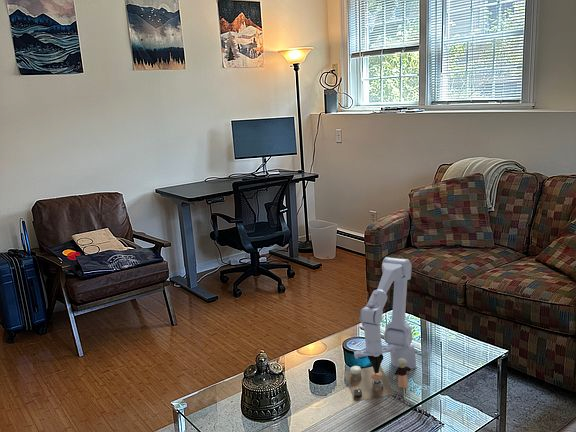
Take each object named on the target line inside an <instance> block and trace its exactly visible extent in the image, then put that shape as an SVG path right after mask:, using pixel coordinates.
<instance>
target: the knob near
mask: <svg viewBox="0 0 576 432" xmlns="http://www.w3.org/2000/svg"><path fill="white" fill-rule="evenodd" d="M371 378H372V379H374V380H375V383H377V384H378V383H379V380H380V379H382V373H381V372H380V371H379V373H376V374H375V372H372V373H371Z"/></svg>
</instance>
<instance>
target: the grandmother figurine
mask: <svg viewBox="0 0 576 432" xmlns="http://www.w3.org/2000/svg"><path fill="white" fill-rule="evenodd" d="M397 363H398V365H399V367H397V368H396V369H395V372H394V374H393V376H392V379H393V380H396V379H397V387H398V388H403V389H408V388H409V382H408V373H409V374H410V375H411V374H413V371H412V369H411V368H409V367H407V366H406V363H407V361H406V360H405V359H403V358H400V359H398V361H397ZM407 372H408V373H407Z"/></svg>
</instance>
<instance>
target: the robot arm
mask: <svg viewBox="0 0 576 432" xmlns="http://www.w3.org/2000/svg"><path fill="white" fill-rule="evenodd" d="M412 267H413V265H412V263H411V261H410V260H409V259H408V258H406V259H405V258H395V257H389V256H385V257H384V259H383V260H382V264H381V272H382V275H381V278H380V279H379V284H378V286H377V289H375V290H373V291H372V293H371V295H370V297H369V299H368V302H367V304H366V305H365V306H364V307H362V308H361V309H360V313H359V321H360V323H361V327H362V328H363V331H364V333H363V334H364V342H365V347H364V348H361V349H359V350H356V351H353V355H354V358H355V360H357V359H359V358H363V357H367V358H368V360H369V362H370V363H371V365H372V366H371V367H373V369H374V372H375V374H376V373H379V368H380V365H381V363H382V361H383V360H384V355H383V354H386V353H389V355H390V357H389V358H390V363H391V365H392V366H394V367H397V368H399V365H398V363H397V361H398V359H400V358H403V359H405V360H406V361H407V363H406V366H407V367H409V368H411V370H412V369H417V368H418V366H417V359H416V349H415V345H414V344H413V343H412V341H413V333H412V326H410V325H409V323H407V322H406V307H407V295H408V294H407V290H408V281H409V280H411V279H412V278H411V277H412ZM392 285H393V296H392V297H393V298H392V311H391V312H392V314H391V321H389V322H388V323H386V325H385V330H384V332H383V341H384V342H385V343H386V344H387V345H383V344H382V334H381V322H382V319H383V314H384V310H383V309H384V308H385V306H386V303H387V301H388V295H387V293H388V291H389V290H390V288H391V286H392Z"/></svg>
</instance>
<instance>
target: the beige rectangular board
mask: <svg viewBox="0 0 576 432" xmlns="http://www.w3.org/2000/svg"><path fill="white" fill-rule="evenodd" d="M379 371H380V372H381V373H382V379H380V380H379V383H378V384H377V383H375V380H374V379H372V378H371V373H372V372H374V369H373V366H369V367H364V368H361V373H359V374H352V373H351V371H350V370H348V371H346V370H345V371H343V374H344V377H345V380H346V382H347V385H348V387H349V391H350V394H351V395H352V398H353V399H354V400H353V401H354V402H359V401H364V400H369V399H370V400H371V399H374V398H382V397H387V396H392V395H396V393H395V390H394V389H393V386H392V384H391V382H390V380H389V379H388V377H387V375H386V373H385V371H384V369H383V368H382V365H381V364H380V368H379ZM356 388H358V389H361V391H362V396H361V397H359V398H357V397H355V396H354V390H355V389H356Z"/></svg>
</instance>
